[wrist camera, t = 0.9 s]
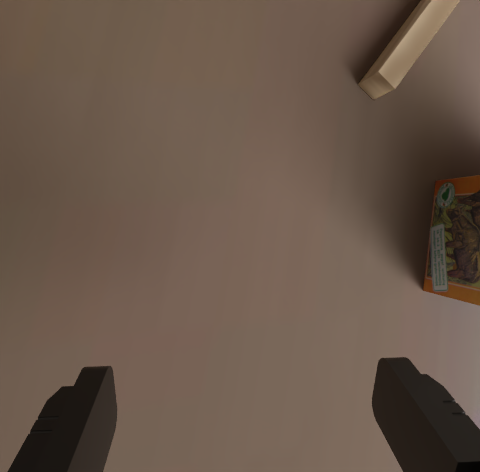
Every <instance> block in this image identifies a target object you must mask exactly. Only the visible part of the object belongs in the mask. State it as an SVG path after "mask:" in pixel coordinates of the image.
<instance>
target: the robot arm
mask: <svg viewBox="0 0 480 472" xmlns="http://www.w3.org/2000/svg"><path fill="white" fill-rule="evenodd" d="M372 408H373V413H374V416H375V419H376V421H377V423H378V425H379V427H380V429H381V431H382V433H383V434H384V436H385V438H386V440H387V442H388V444H389V446H390V448H391V449H392V451H393V453H394V455H395V457H396V459H397V461H398V463H399V465H400V466H401V468H402V470H403V472H480V430H479V428H478V427H477V426H476V425H475V424H474V422H473V421H472V420H471V419H470V418H469V416H468V415H465V412H464V410H463V409H462V408H461V407H460V406H459V404H458V403H455V400H454V398H453V397H452V396H451V395H450V394H449V392H448V391H447V390H446V389H445V388H444V386H442V385H441V384H440V383H438V382H437V381H435V380H434V379H432V378H431V377H430V376H428V375H427V374H420V372H419V371H418V370H417V369H416V367H415V366H414V365H413V364H412V362H411V361H410V360H409V359H408V358H406V357H400V358H381V359H380V360H379V362H378V367H377V372H376V378H375V384H374V390H373V396H372ZM116 421H117V404H116V394H115V385H114V376H113V370H112V367H111V366H98V367H84V368H83V369H82V370H81V372H80V374H79V376H78V378H77V380H76V383H75V385H74V386H65V387H61V388H60V389H59V390H58V391H57V392H56V393H55V394H54V395H53V396H52V397H51V398H49V399H48V400H47V402H46V404H45V405H44V407H43V409H42V411H41V413H40V414H39V416H38V420H36V422H35V423H34V425H33V427H32V429H31V431H30V434H28V436H27V438H26V440H25V441H24V443H23V445H22V447H21V449H20V450H19V452H18V454H17V456H16V458H15V459H14V461H13V463H12V465H11V467H10V468H9V470H8V472H103V470H104V466H105V463H106V460H107V456H108V453H109V449H110V446H111V442H112V439H113V436H114V432H115V428H116Z"/></svg>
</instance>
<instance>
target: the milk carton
mask: <svg viewBox="0 0 480 472" xmlns="http://www.w3.org/2000/svg"><path fill="white" fill-rule="evenodd" d="M423 291H427V292H430V293H434V294H438V295H442V296H446V297H449V298H453V299H457V300H461V301H464V302H468V303H472V304H476V305H480V175H476V176H468V177H460V178H452V179H445V180H437V181H436V183H435V191H434V200H433V209H432V217H431V226H430V235H429V243H428V252H427V261H426V269H425V278H424V287H423Z"/></svg>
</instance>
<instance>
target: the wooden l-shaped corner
mask: <svg viewBox="0 0 480 472" xmlns="http://www.w3.org/2000/svg"><path fill="white" fill-rule="evenodd" d="M459 1H460V0H421V1H420V2H419V4H418V5H417V6H416V8H415V9H414V10H413V12H412V13H411V14H410V16H409V17H408V18H407V20H406V21H405V22H404V24H403V25H402V26H401V28H400V29H399V30H398V32H397V33H396V34H395V36H394V37H393V38H392V40H391V41H390V42H389V44H388V45H387V46H386V48H385V49H384V51H383V52H382V53H381V55H380V56H379V57H378V59H377V60H376V61H375V63H374V64H373V65H372V67H371V68H370V69H369V71H368V72H367V73H366V75H365V76H364V77H363V79H362V80H361V81H360V83H359V84H358V85H359V86H360V87H361V88H362V89H363V90H364V91H365V92H366V93H367V94H368V95H369V96H370V97H371V98H372V99H373V100H375V99H377V98H378V97H380V96H382V95H384V94H386V93H388V92H390V91H392V90H394V89H395V88H396V87H397V86H398V84H399V83H400V82H401V80H402V79H403V77H404V76H405V75H406V73H407V72H408V71H409V69H410V68H411V67H412V65H413V64H414V62H415V61H416V60H417V58H418V57H419V56H420V54H421V53H422V52H423V50H424V49H425V47H426V46H427V45H428V43H429V42H430V41H431V39H432V38H433V36H434V35H435V34H436V32H437V31H438V30H439V28H440V27H441V26H442V24H443V23H444V21H445V20H446V19H447V17H448V16H449V15H450V13H451V12H452V11H453V9H454V8H455V6H456V5H457V4H458V2H459Z"/></svg>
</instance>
